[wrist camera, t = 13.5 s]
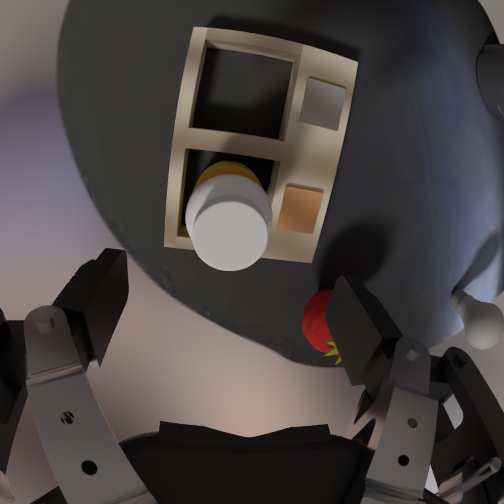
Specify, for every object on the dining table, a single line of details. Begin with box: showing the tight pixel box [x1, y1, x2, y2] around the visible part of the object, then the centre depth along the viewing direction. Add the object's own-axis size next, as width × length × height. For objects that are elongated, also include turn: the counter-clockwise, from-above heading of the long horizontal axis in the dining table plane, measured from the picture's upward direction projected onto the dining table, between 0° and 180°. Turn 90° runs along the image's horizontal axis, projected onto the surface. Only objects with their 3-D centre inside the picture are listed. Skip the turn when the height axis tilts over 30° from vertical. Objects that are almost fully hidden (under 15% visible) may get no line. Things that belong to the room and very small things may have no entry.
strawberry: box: [303, 290, 341, 364], centre depth 24 cm, size 6×8×10 cm
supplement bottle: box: [185, 161, 273, 271], centre depth 18 cm, size 5×5×10 cm
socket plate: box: [164, 27, 358, 263], centre depth 20 cm, size 18×12×3 cm
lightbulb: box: [451, 289, 504, 349], centre depth 27 cm, size 6×6×11 cm
